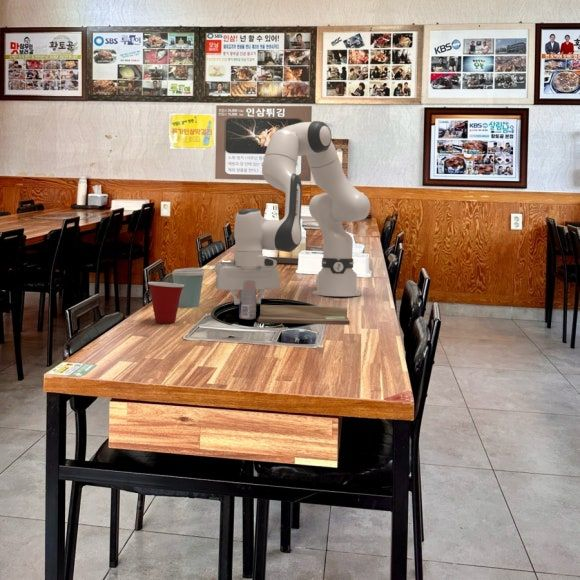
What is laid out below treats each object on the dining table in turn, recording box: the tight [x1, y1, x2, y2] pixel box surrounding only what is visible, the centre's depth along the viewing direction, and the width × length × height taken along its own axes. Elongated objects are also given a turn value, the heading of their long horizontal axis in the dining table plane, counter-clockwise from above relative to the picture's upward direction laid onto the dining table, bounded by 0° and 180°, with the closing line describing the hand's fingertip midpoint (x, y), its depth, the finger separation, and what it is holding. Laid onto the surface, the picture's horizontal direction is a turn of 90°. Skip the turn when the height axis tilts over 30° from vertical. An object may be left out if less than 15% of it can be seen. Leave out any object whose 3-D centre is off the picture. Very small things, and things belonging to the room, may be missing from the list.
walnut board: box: [257, 304, 351, 325], centre depth 207 cm, size 12×28×4 cm, turn 89°
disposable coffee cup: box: [171, 267, 205, 309], centre depth 220 cm, size 11×11×15 cm
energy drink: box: [238, 281, 257, 320], centre depth 208 cm, size 5×5×12 cm
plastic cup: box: [147, 281, 184, 324], centre depth 197 cm, size 11×11×12 cm
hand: (247, 304), depth 208 cm, fingers closed on energy drink, 5 cm apart
